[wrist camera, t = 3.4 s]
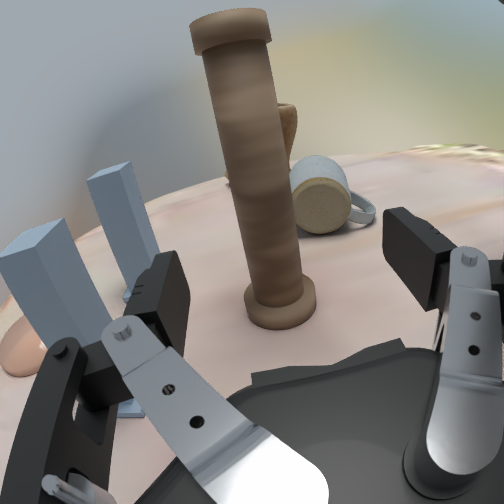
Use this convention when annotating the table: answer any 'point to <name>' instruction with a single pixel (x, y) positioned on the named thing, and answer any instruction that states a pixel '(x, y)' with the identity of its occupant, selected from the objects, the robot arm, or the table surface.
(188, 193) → the table surface
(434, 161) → the table surface
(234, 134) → the candlestick
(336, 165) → the ceramic mug
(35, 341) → the disc
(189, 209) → the table surface
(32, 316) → the blue pillar pair
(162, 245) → the table surface
